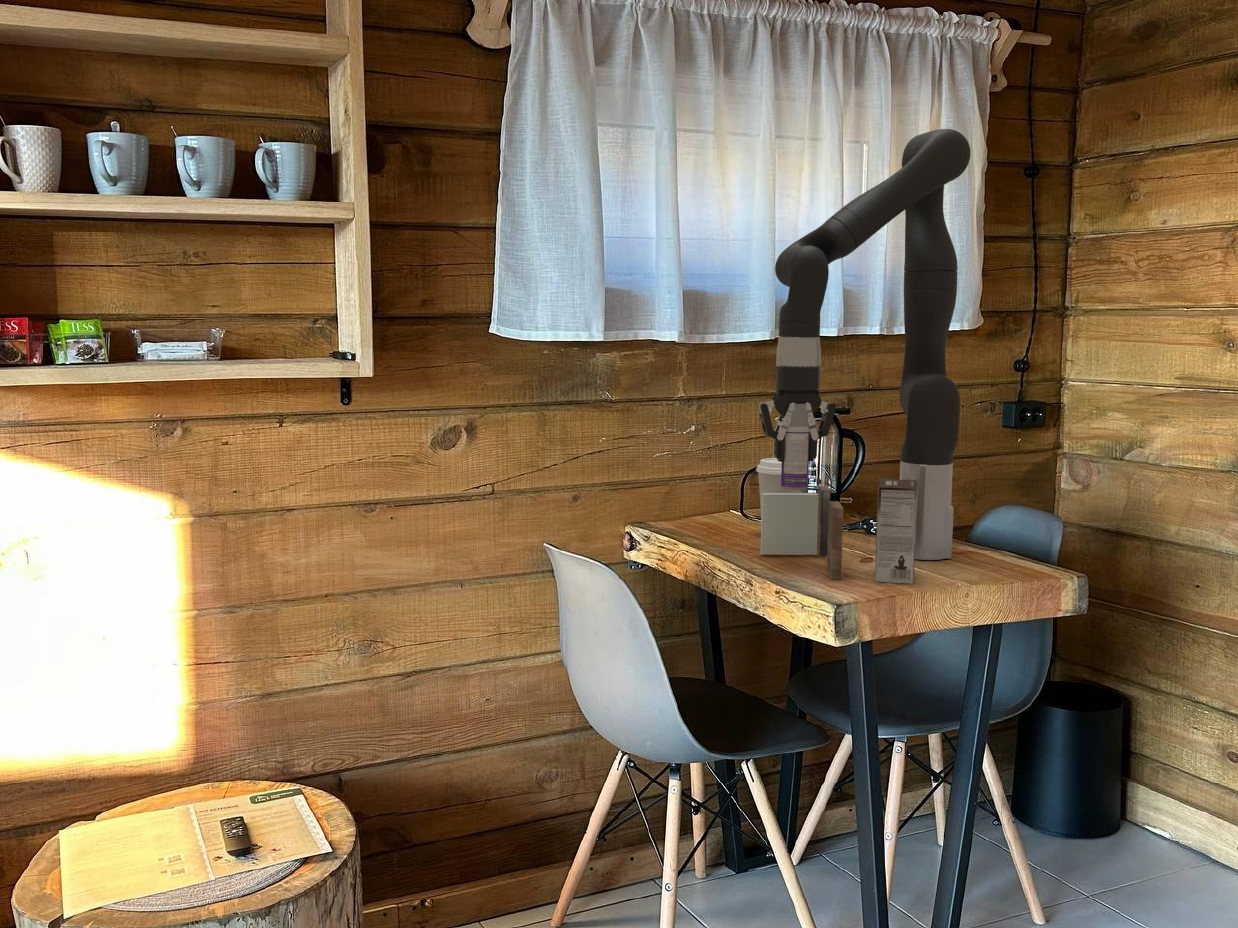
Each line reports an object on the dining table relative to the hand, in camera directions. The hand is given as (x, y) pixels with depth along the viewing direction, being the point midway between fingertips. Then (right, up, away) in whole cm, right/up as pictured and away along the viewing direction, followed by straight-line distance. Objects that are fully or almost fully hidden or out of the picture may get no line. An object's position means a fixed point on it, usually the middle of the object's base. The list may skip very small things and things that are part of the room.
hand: (795, 460), depth 209 cm
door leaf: (0, -17, +8) cm, 19 cm away
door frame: (+6, -18, +1) cm, 19 cm away
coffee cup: (+1, -15, +25) cm, 30 cm away
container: (0, -5, +1) cm, 5 cm away
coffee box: (+15, -20, -8) cm, 26 cm away
